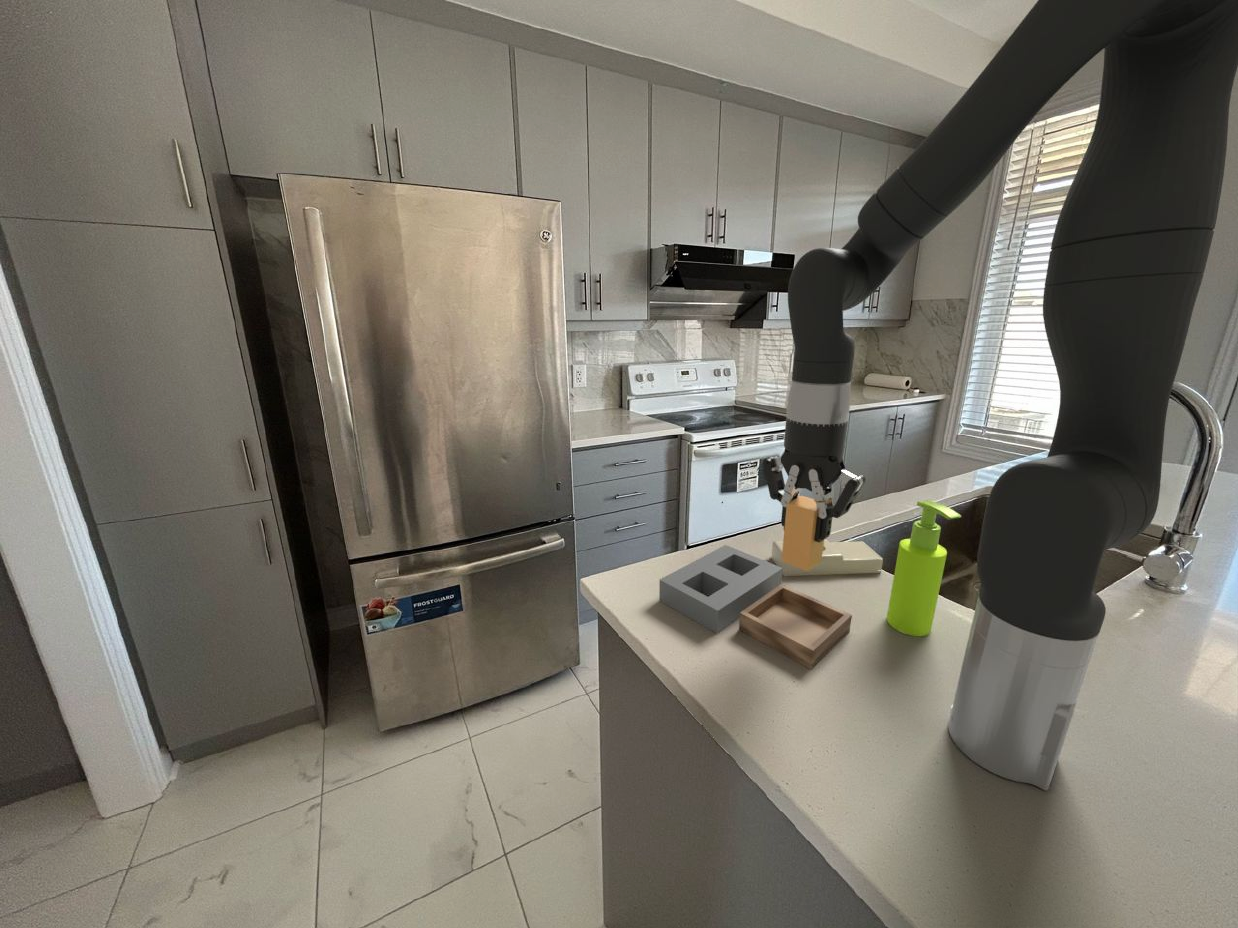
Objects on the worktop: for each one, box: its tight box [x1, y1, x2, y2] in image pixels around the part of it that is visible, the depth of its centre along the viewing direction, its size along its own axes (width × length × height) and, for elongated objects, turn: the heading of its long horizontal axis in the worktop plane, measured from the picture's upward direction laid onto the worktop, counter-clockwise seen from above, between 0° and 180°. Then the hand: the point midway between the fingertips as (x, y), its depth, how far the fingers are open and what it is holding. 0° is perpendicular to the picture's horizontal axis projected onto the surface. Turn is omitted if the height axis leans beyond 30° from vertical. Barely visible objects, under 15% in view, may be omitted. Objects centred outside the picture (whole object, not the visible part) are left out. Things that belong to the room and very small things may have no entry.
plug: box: [782, 495, 824, 571], centre depth 67 cm, size 4×4×9 cm
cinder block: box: [658, 544, 783, 634], centre depth 81 cm, size 12×18×4 cm, turn 131°
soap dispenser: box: [886, 500, 962, 637], centre depth 70 cm, size 6×7×20 cm
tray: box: [738, 583, 853, 670], centre depth 72 cm, size 12×12×3 cm
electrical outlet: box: [770, 538, 884, 577], centre depth 91 cm, size 7×4×18 cm
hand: (804, 534), depth 68 cm, fingers closed on plug, 4 cm apart
